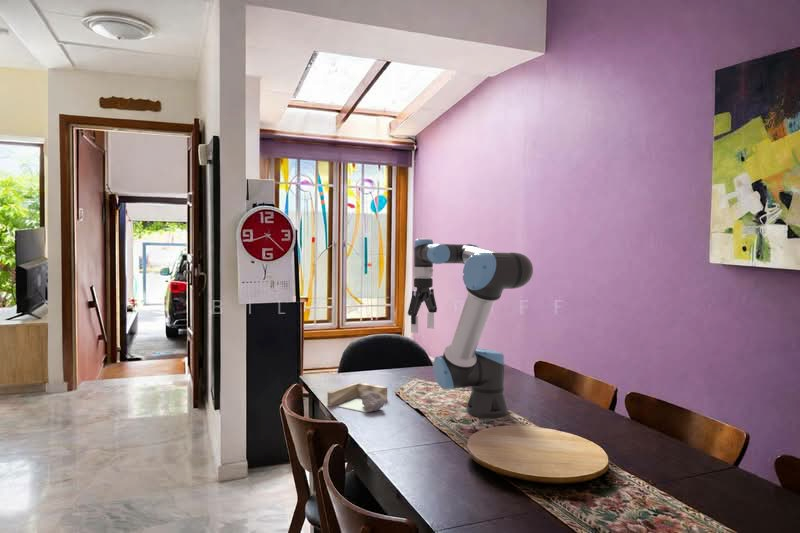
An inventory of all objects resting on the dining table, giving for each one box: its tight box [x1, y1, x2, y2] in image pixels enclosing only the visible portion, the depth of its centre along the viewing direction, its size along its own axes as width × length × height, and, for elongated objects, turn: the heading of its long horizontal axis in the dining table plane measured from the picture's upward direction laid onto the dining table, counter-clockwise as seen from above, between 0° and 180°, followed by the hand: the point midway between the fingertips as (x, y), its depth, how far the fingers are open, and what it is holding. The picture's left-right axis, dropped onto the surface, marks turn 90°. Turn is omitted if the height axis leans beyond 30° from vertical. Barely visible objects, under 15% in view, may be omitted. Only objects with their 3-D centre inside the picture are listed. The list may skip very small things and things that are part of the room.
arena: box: [327, 382, 388, 407], centre depth 203 cm, size 15×18×5 cm
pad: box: [337, 398, 369, 414], centre depth 199 cm, size 13×12×1 cm
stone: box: [362, 390, 385, 413], centre depth 194 cm, size 10×8×6 cm
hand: (422, 330), depth 212 cm, fingers open, 13 cm apart
